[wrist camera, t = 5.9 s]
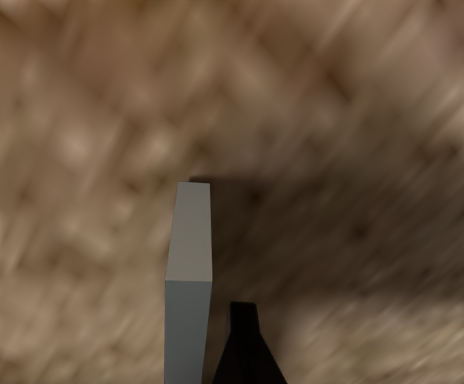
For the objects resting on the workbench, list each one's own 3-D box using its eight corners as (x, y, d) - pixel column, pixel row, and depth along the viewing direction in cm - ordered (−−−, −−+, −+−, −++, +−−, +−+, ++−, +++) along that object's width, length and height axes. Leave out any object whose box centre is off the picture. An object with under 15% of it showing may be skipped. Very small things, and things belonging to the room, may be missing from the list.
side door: (195, 391, 14) (192, 506, 11) (168, 392, 14) (157, 508, 11) (215, 182, 9) (221, 285, 6) (172, 179, 9) (155, 284, 5)
